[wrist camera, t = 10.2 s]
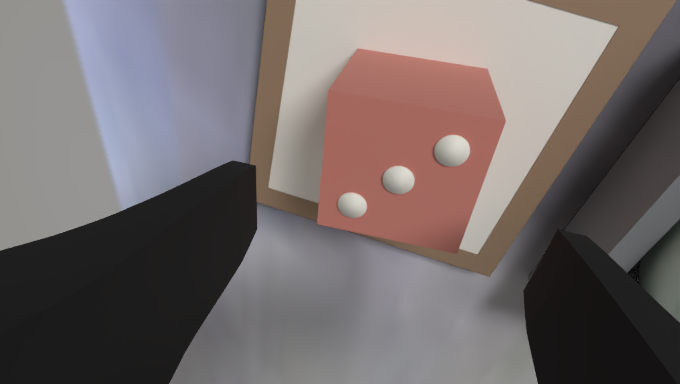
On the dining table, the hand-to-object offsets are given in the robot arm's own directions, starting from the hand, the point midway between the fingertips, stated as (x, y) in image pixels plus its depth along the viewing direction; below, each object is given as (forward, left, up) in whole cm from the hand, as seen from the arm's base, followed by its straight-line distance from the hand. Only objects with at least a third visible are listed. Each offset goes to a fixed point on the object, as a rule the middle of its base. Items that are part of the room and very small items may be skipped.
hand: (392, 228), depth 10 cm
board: (0, 0, -7) cm, 7 cm away
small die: (0, 0, -7) cm, 7 cm away
